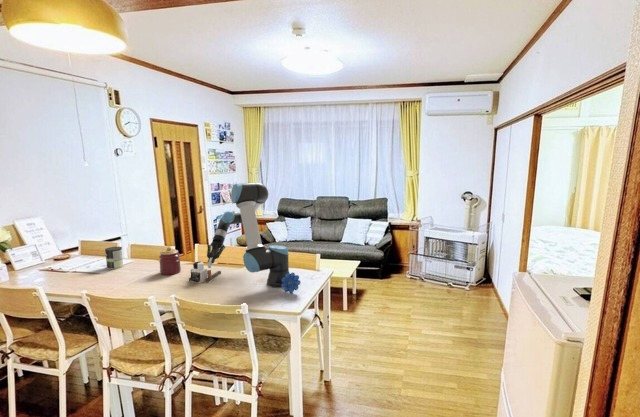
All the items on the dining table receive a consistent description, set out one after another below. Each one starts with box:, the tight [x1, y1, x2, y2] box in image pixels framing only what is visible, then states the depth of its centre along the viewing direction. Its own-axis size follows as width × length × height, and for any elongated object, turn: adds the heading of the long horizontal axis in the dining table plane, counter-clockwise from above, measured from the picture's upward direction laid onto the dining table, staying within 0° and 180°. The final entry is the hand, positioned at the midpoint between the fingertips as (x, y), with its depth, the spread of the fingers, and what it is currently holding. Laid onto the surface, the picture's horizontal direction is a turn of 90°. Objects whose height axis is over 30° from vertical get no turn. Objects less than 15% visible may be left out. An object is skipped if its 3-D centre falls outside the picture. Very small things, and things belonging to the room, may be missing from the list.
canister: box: [158, 246, 182, 276], centre depth 226 cm, size 13×13×18 cm
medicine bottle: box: [190, 261, 208, 284], centre depth 209 cm, size 7×7×12 cm
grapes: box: [280, 272, 301, 294], centre depth 189 cm, size 12×7×12 cm, turn 74°
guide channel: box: [188, 268, 222, 283], centre depth 215 cm, size 17×14×6 cm
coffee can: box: [104, 246, 124, 270], centre depth 238 cm, size 10×10×14 cm
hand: (208, 267), depth 220 cm, fingers closed
